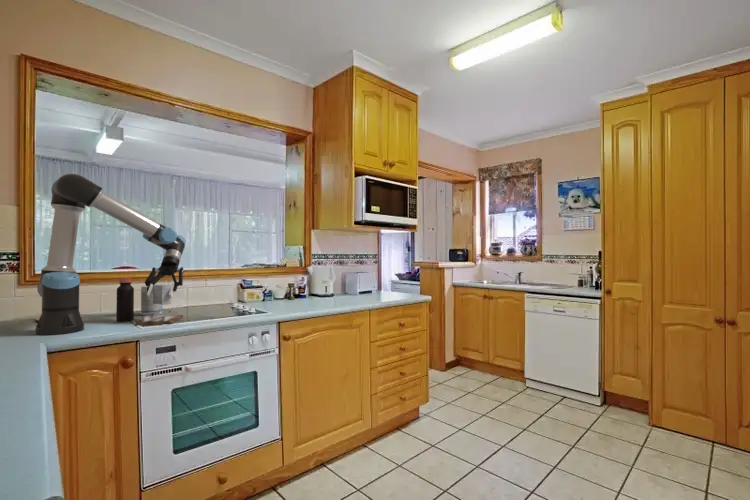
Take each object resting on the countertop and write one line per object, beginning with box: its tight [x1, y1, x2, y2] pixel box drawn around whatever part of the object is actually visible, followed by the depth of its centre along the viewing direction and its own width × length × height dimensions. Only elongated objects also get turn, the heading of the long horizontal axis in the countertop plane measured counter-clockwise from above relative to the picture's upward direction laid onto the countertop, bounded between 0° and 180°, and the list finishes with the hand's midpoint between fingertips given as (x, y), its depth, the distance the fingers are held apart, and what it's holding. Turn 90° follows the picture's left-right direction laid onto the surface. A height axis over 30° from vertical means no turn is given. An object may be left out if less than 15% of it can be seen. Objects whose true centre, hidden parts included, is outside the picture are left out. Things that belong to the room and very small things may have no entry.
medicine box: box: [153, 284, 172, 306], centre depth 179 cm, size 8×4×9 cm, turn 58°
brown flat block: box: [135, 310, 184, 327], centre depth 178 cm, size 14×18×4 cm
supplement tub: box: [140, 285, 163, 317], centre depth 199 cm, size 10×10×15 cm
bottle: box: [115, 277, 135, 323], centre depth 180 cm, size 7×7×20 cm
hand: (159, 296), depth 176 cm, fingers closed on medicine box, 8 cm apart
